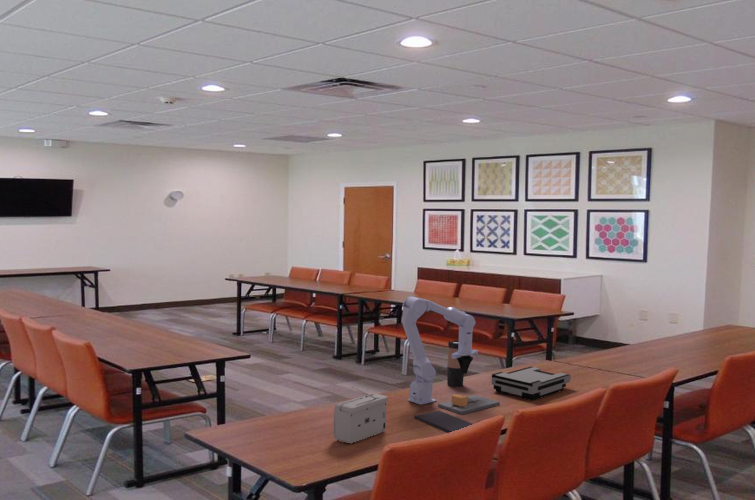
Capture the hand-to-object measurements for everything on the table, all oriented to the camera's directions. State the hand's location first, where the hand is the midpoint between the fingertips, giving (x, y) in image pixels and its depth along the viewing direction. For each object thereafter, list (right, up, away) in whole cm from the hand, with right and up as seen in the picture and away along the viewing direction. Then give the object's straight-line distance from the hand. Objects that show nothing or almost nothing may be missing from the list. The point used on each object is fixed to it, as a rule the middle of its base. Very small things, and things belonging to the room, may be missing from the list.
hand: (464, 373), depth 290 cm
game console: (+32, -11, +15) cm, 37 cm away
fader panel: (0, -11, -12) cm, 16 cm away
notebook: (-12, -13, -35) cm, 39 cm away
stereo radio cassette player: (-43, -13, -53) cm, 69 cm away
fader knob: (-4, -10, -16) cm, 19 cm away
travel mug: (-2, -9, +21) cm, 23 cm away
